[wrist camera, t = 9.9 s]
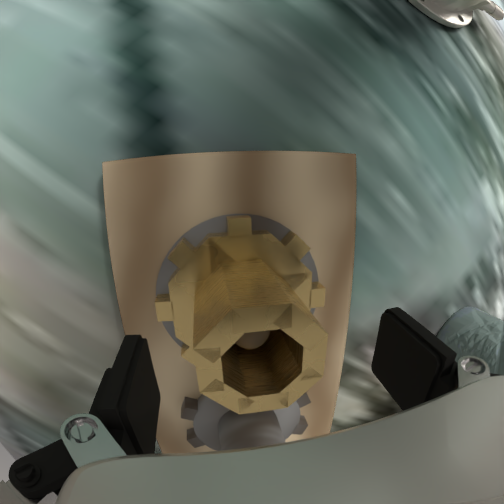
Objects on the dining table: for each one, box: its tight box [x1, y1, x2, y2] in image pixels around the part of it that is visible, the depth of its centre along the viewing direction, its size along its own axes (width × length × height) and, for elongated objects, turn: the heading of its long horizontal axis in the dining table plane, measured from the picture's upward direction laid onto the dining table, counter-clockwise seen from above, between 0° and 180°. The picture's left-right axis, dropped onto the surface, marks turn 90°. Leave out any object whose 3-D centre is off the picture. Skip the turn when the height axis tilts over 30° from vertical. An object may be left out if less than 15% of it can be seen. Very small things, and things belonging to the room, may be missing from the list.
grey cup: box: [436, 307, 504, 375], centre depth 19 cm, size 10×10×12 cm
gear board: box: [102, 151, 356, 454], centre depth 17 cm, size 15×25×7 cm, turn 2°
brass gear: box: [155, 215, 328, 414], centre depth 14 cm, size 10×10×7 cm
